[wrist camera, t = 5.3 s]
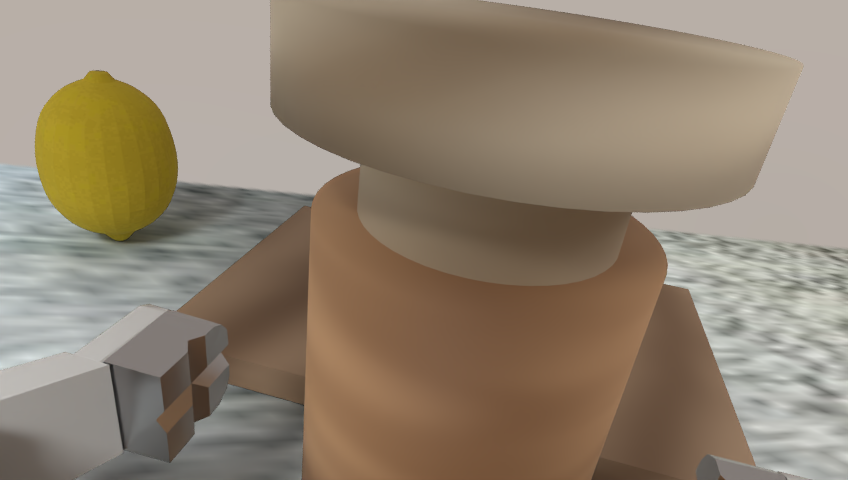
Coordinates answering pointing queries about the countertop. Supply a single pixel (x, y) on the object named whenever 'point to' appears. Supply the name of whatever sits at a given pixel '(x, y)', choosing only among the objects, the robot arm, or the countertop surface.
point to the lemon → (105, 156)
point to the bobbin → (497, 220)
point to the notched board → (637, 411)
